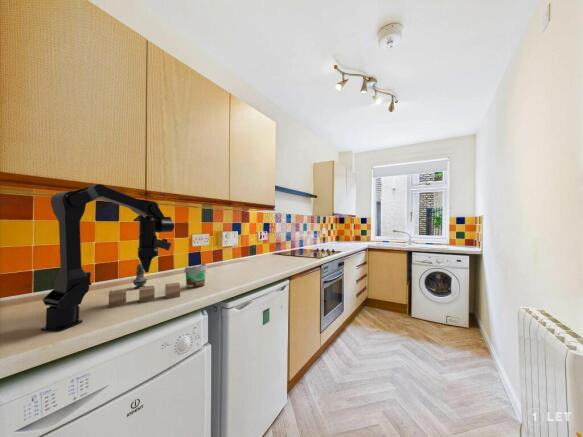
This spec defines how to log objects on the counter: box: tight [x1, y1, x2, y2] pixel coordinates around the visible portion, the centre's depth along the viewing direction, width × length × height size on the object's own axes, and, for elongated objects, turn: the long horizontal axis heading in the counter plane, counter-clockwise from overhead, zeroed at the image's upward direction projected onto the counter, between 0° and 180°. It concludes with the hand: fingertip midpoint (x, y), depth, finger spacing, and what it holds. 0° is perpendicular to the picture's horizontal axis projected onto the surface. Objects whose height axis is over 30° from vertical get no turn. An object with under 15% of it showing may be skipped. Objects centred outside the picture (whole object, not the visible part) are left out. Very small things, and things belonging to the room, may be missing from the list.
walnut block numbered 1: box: [164, 282, 181, 300], centre depth 98 cm, size 5×5×5 cm
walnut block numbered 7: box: [108, 288, 127, 309], centre depth 88 cm, size 5×5×5 cm
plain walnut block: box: [138, 285, 156, 304], centre depth 93 cm, size 5×5×5 cm
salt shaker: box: [132, 262, 148, 290], centre depth 112 cm, size 6×6×12 cm
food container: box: [184, 263, 208, 290], centre depth 114 cm, size 12×6×10 cm, turn 161°
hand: (146, 272), depth 93 cm, fingers closed
